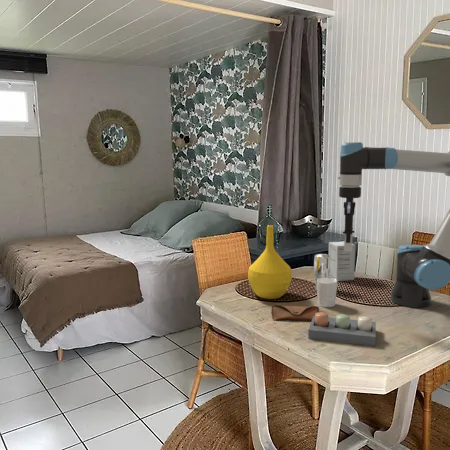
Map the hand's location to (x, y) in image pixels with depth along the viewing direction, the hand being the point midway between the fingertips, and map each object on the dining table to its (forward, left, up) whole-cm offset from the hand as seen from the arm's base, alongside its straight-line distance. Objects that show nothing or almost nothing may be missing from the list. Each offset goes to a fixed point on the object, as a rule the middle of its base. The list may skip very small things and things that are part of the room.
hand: (348, 250), depth 170 cm
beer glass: (+12, -29, -25) cm, 40 cm away
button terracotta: (+7, +19, -22) cm, 30 cm away
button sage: (0, +19, -22) cm, 29 cm away
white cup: (+8, -9, -25) cm, 27 cm away
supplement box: (+5, -48, -25) cm, 54 cm away
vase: (+32, -14, -25) cm, 43 cm away
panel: (0, +19, -24) cm, 31 cm away
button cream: (-7, +19, -22) cm, 30 cm away
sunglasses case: (+17, +8, -25) cm, 32 cm away
